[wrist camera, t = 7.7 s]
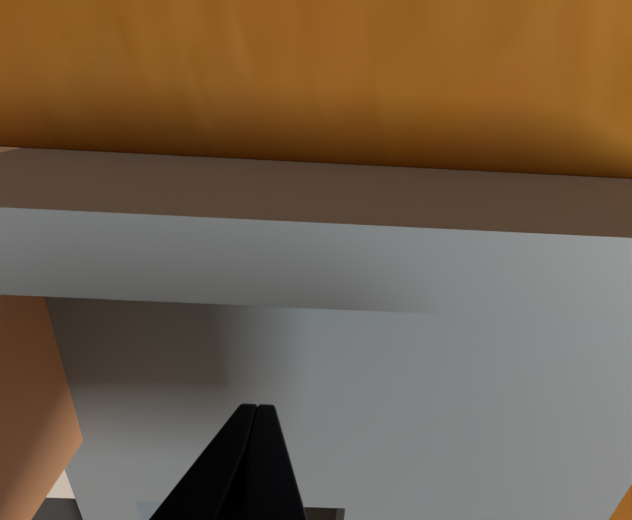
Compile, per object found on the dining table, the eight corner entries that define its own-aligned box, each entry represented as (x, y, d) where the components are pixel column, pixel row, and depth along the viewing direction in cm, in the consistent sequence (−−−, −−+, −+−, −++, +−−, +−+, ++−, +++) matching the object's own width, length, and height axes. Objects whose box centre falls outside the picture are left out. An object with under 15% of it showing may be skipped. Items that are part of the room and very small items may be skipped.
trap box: (719, 183, 10) (1066, 271, 5) (509, 585, 18) (572, 749, 14) (-302, 131, 9) (-884, 177, 5) (-25, 567, 18) (-141, 730, 13)
